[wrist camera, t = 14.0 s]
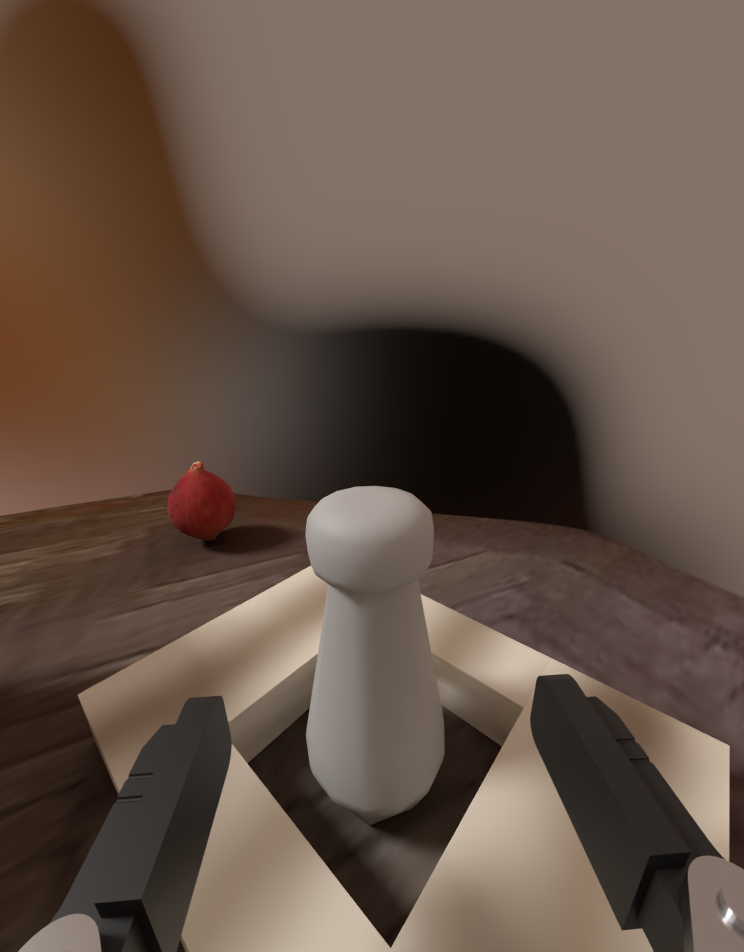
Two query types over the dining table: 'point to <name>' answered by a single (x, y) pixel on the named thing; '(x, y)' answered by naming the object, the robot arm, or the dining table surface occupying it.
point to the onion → (201, 504)
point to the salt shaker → (373, 653)
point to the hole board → (474, 842)
